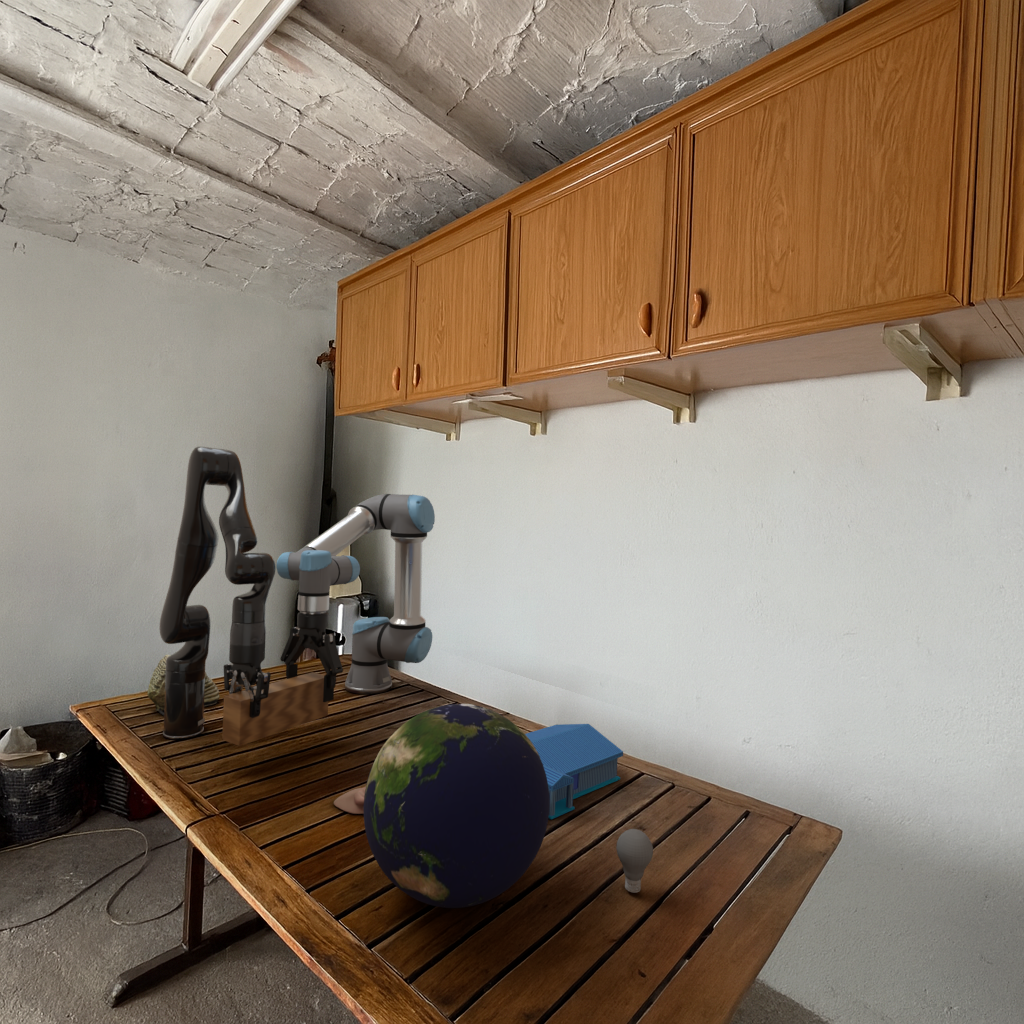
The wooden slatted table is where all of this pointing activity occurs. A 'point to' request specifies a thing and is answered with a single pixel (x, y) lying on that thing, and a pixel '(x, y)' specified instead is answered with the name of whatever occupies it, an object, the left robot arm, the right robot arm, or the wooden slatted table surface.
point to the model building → (574, 762)
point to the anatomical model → (352, 801)
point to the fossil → (158, 687)
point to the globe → (456, 806)
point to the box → (274, 709)
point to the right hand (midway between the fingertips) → (309, 695)
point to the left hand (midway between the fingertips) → (245, 713)
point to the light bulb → (634, 857)
